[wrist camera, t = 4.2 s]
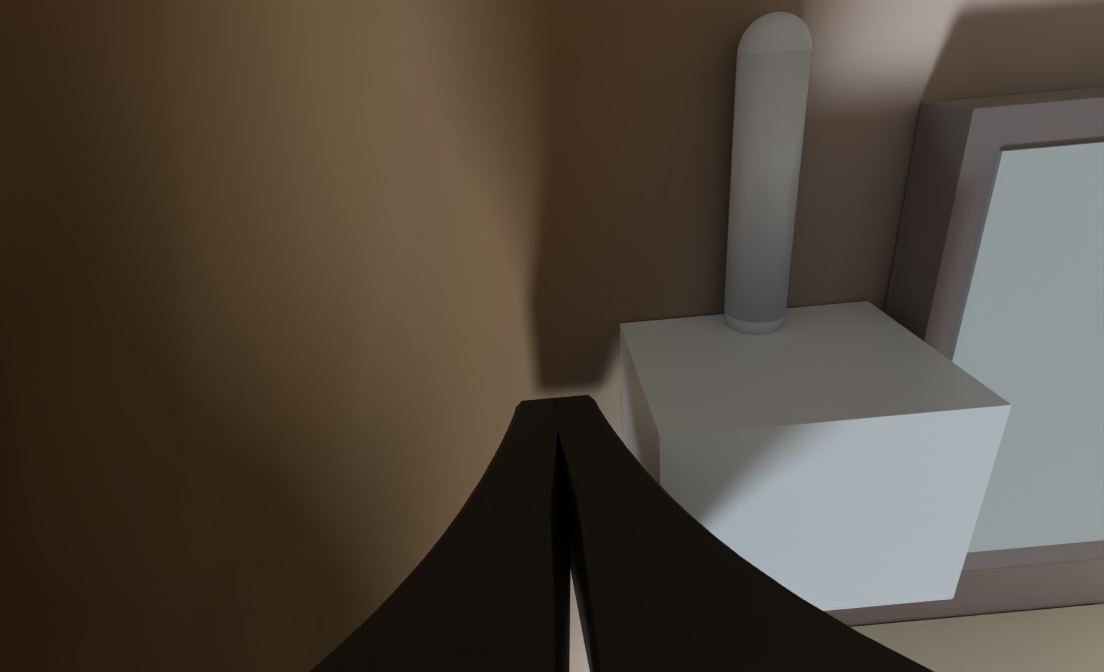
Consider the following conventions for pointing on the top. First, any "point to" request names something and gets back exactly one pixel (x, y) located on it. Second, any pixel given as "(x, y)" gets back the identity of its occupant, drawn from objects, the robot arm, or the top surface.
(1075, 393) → the phone
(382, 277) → the top surface
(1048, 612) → the outlet plate
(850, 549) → the cable plug
